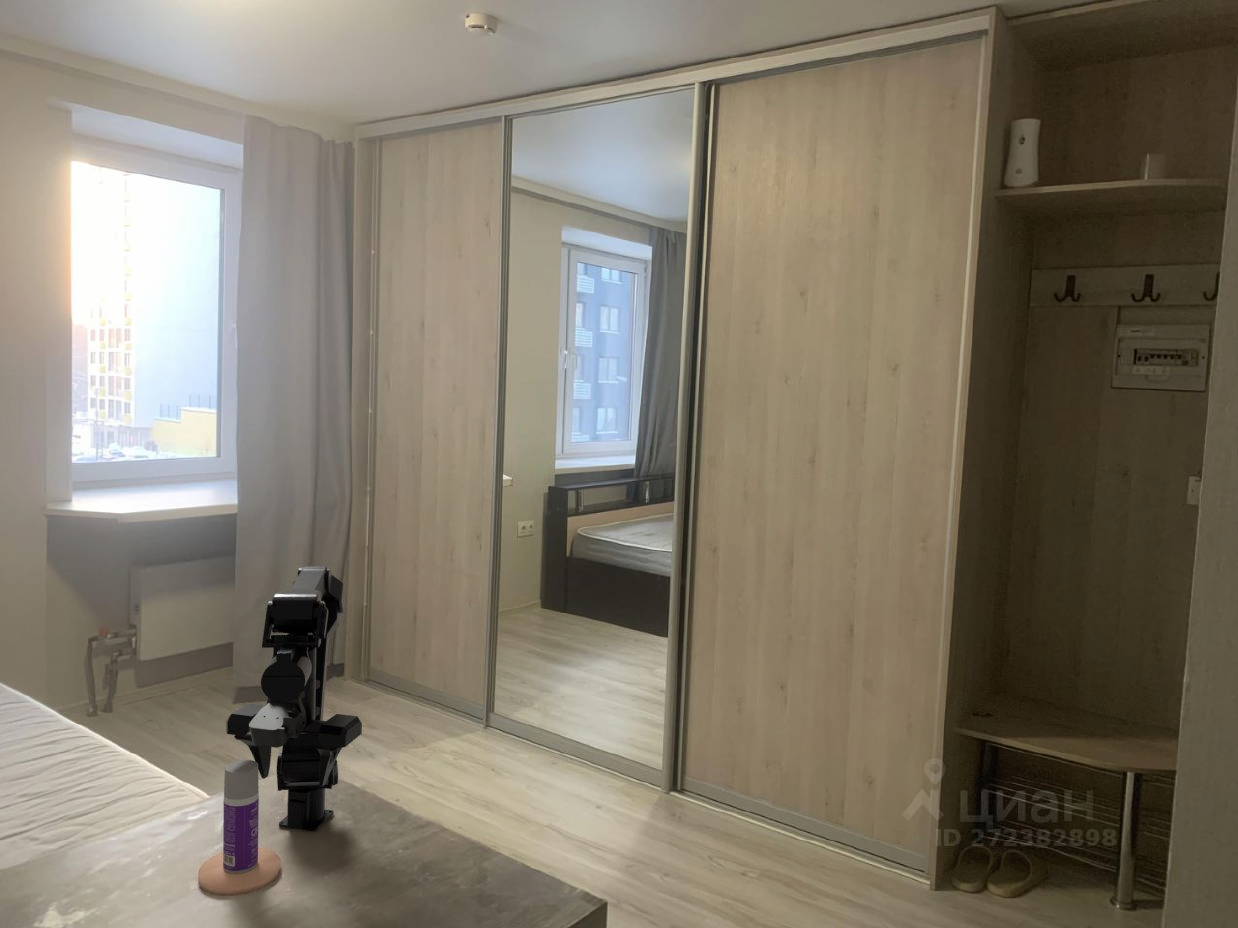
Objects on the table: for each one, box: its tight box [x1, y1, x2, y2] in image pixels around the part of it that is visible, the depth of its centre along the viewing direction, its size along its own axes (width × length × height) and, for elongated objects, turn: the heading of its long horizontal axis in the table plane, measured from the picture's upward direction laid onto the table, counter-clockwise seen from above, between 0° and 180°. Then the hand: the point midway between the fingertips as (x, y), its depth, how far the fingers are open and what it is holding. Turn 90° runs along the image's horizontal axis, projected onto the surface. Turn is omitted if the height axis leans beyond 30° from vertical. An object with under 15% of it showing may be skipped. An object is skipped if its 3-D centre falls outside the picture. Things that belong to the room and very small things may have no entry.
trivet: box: [197, 846, 281, 896], centre depth 132 cm, size 11×11×1 cm
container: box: [222, 759, 260, 874], centre depth 131 cm, size 5×5×15 cm
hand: (293, 781), depth 133 cm, fingers open, 9 cm apart
